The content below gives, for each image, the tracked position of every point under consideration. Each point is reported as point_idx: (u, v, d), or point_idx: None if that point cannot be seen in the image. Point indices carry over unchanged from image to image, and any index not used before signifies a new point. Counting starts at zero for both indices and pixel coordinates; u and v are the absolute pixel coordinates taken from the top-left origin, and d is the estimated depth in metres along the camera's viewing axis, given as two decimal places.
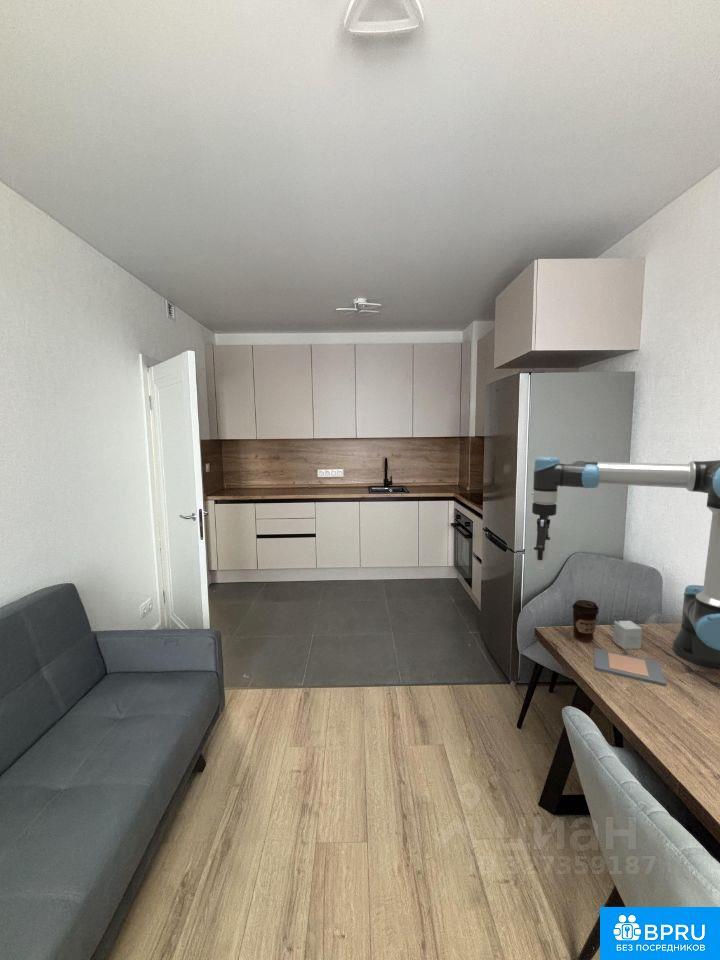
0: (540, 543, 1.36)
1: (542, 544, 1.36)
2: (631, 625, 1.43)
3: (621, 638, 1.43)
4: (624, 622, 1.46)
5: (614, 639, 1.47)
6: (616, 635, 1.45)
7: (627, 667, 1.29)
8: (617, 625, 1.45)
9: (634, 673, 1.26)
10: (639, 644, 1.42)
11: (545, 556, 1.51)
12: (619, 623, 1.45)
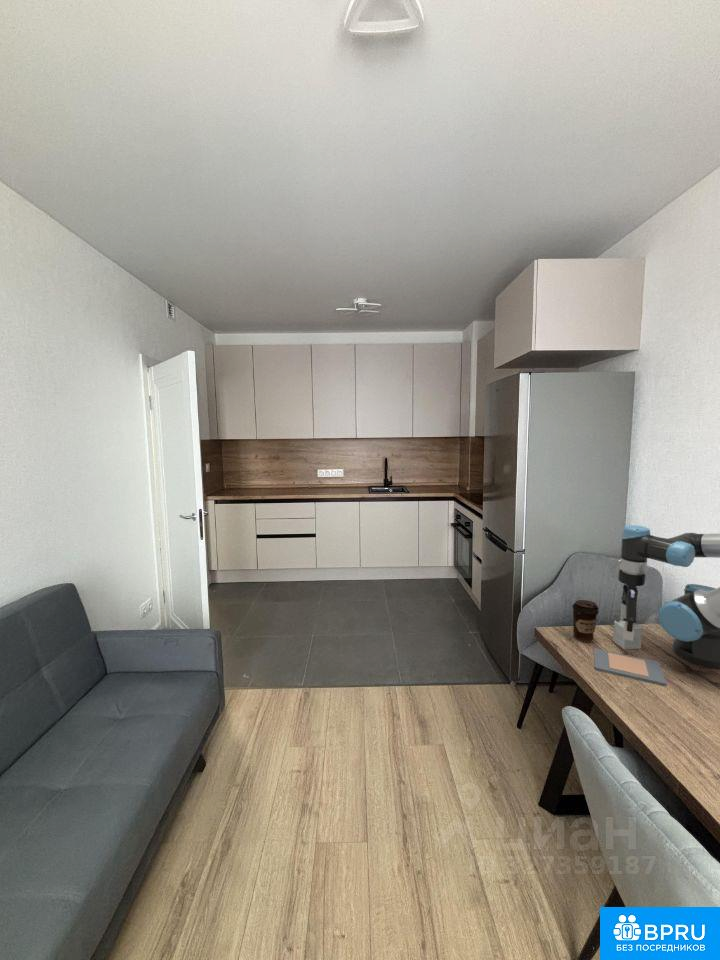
0: (631, 615, 1.35)
1: (633, 617, 1.35)
2: None
3: (621, 638, 1.43)
4: (624, 622, 1.46)
5: (614, 639, 1.47)
6: (616, 635, 1.45)
7: (627, 667, 1.29)
8: (617, 625, 1.45)
9: (634, 673, 1.26)
10: (639, 644, 1.42)
11: None
12: (619, 623, 1.45)
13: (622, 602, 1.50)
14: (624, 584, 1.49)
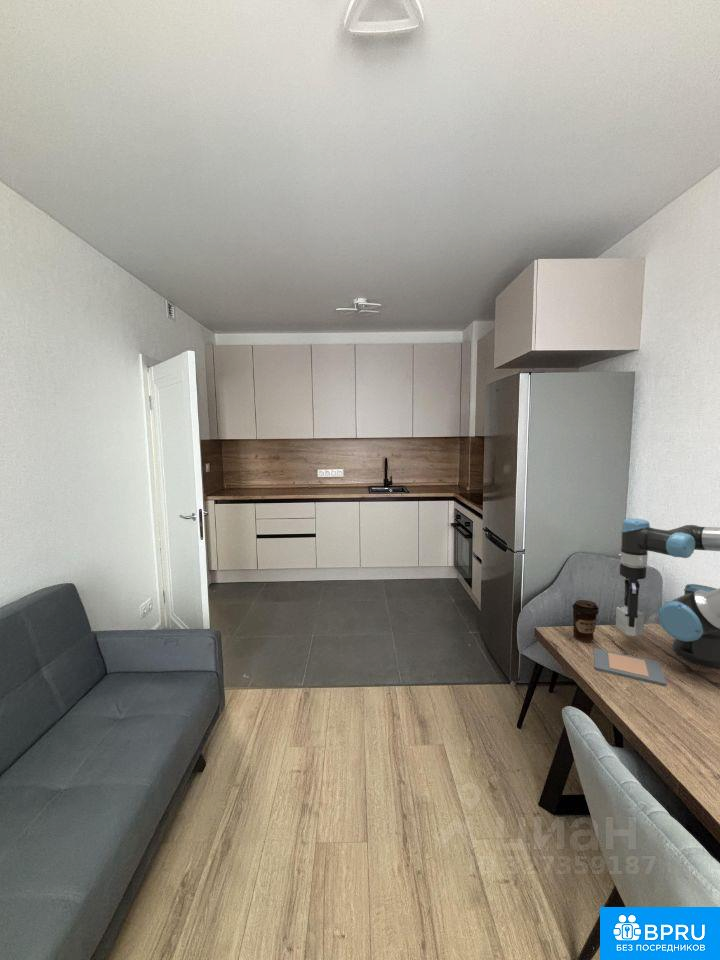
0: (633, 611, 1.36)
1: (635, 612, 1.36)
2: None
3: (623, 624, 1.42)
4: (626, 608, 1.45)
5: (617, 625, 1.46)
6: (619, 621, 1.44)
7: (627, 667, 1.29)
8: (619, 611, 1.44)
9: (634, 673, 1.26)
10: (642, 629, 1.41)
11: None
12: (621, 609, 1.44)
13: (625, 603, 1.48)
14: None
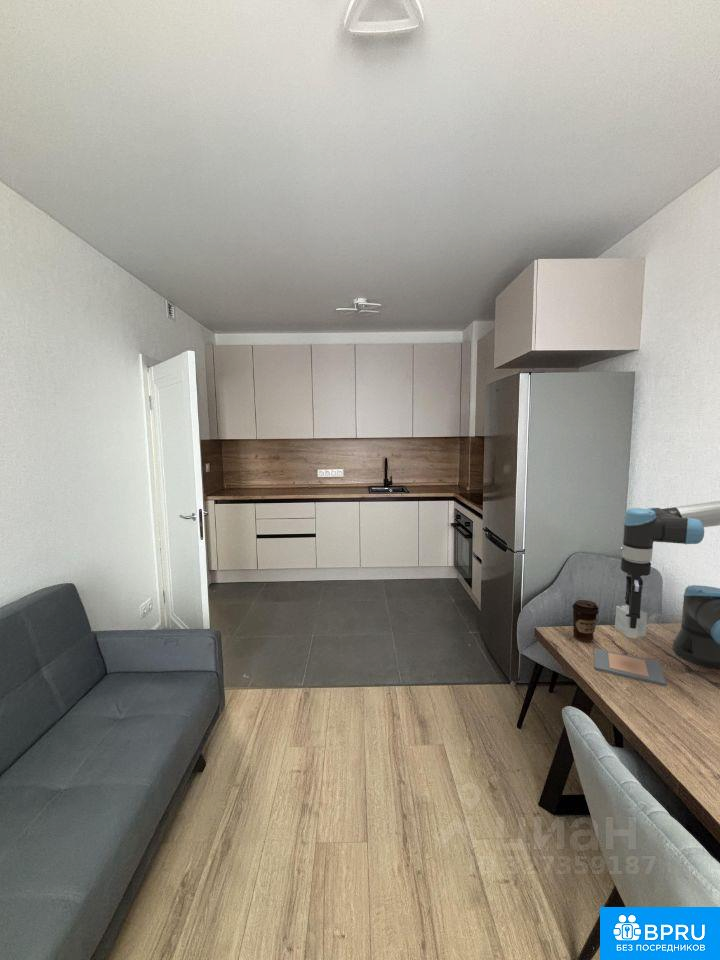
0: (635, 611, 1.22)
1: (637, 612, 1.22)
2: None
3: (624, 625, 1.28)
4: (627, 607, 1.31)
5: (616, 626, 1.32)
6: (618, 621, 1.30)
7: (627, 667, 1.29)
8: (619, 610, 1.30)
9: (634, 673, 1.26)
10: (644, 631, 1.27)
11: None
12: (621, 608, 1.30)
13: (626, 601, 1.33)
14: None
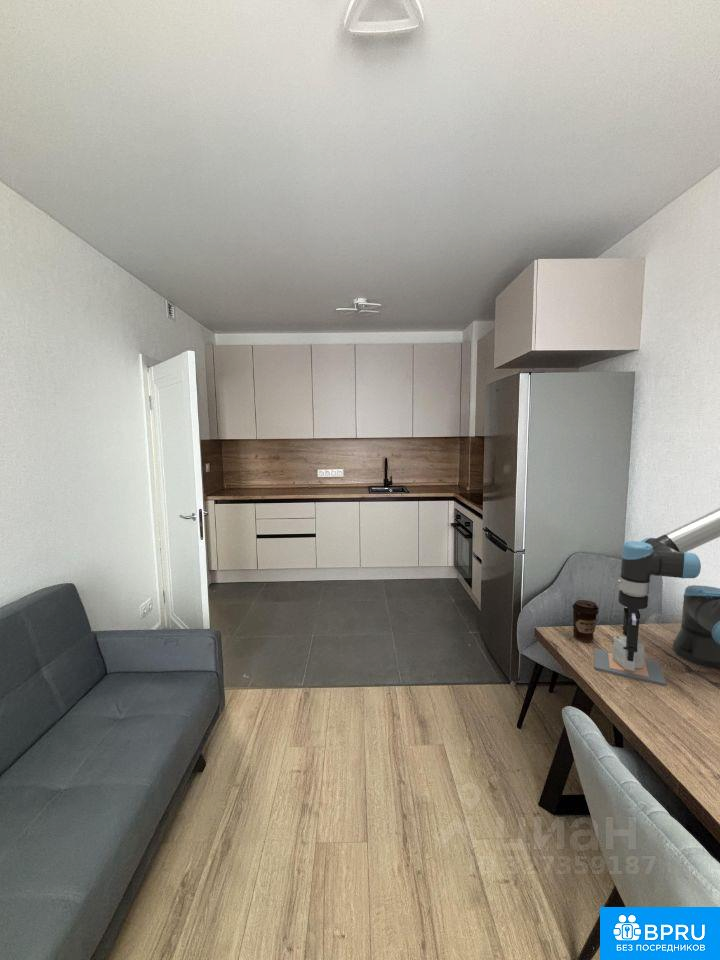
0: (632, 645, 1.23)
1: (635, 646, 1.23)
2: None
3: (621, 657, 1.29)
4: (625, 638, 1.32)
5: (614, 657, 1.33)
6: (616, 652, 1.32)
7: None
8: (617, 642, 1.31)
9: (634, 673, 1.26)
10: (641, 663, 1.28)
11: None
12: (619, 640, 1.31)
13: (623, 632, 1.35)
14: None
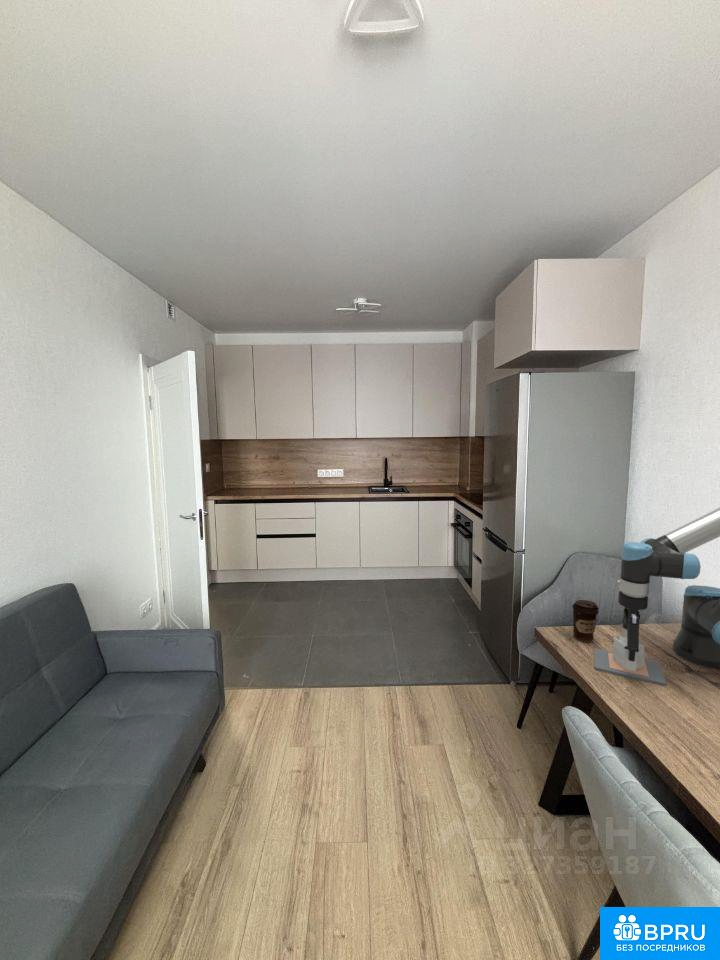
0: (633, 643, 1.22)
1: (636, 645, 1.21)
2: None
3: (621, 657, 1.29)
4: (625, 639, 1.32)
5: (614, 657, 1.33)
6: (616, 653, 1.32)
7: None
8: (617, 642, 1.31)
9: (634, 673, 1.26)
10: (641, 663, 1.28)
11: None
12: (619, 640, 1.31)
13: (623, 626, 1.37)
14: (625, 606, 1.35)
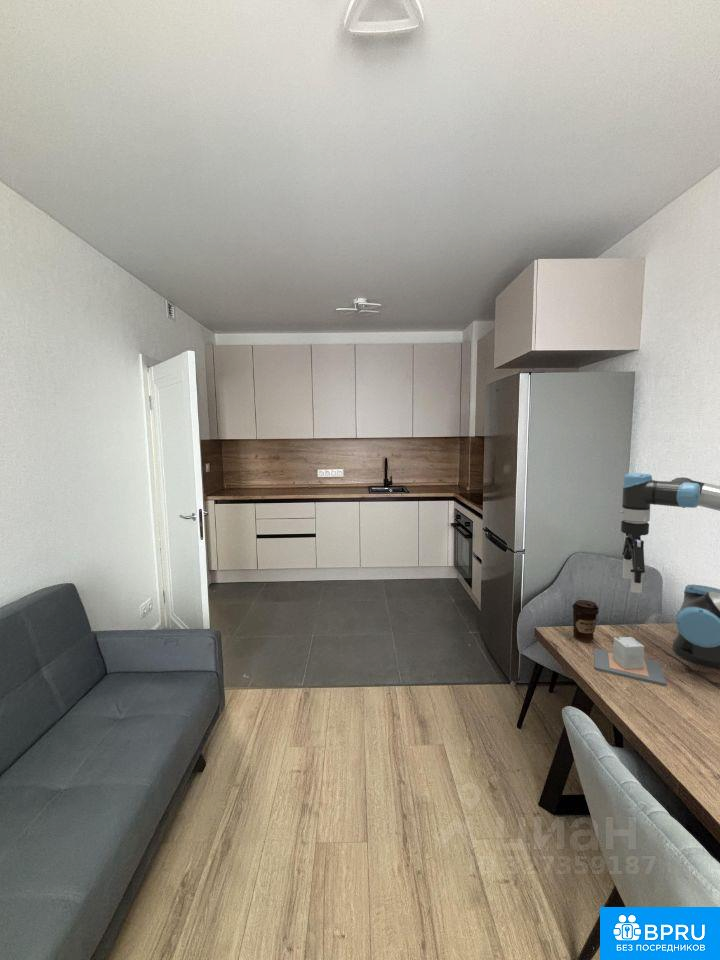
0: (639, 565, 1.28)
1: (642, 566, 1.28)
2: (632, 643, 1.29)
3: (621, 657, 1.29)
4: (625, 639, 1.32)
5: (614, 657, 1.33)
6: (616, 653, 1.32)
7: None
8: (617, 642, 1.31)
9: (634, 673, 1.26)
10: (641, 663, 1.28)
11: (630, 576, 1.44)
12: (619, 640, 1.31)
13: (624, 557, 1.44)
14: (626, 537, 1.42)
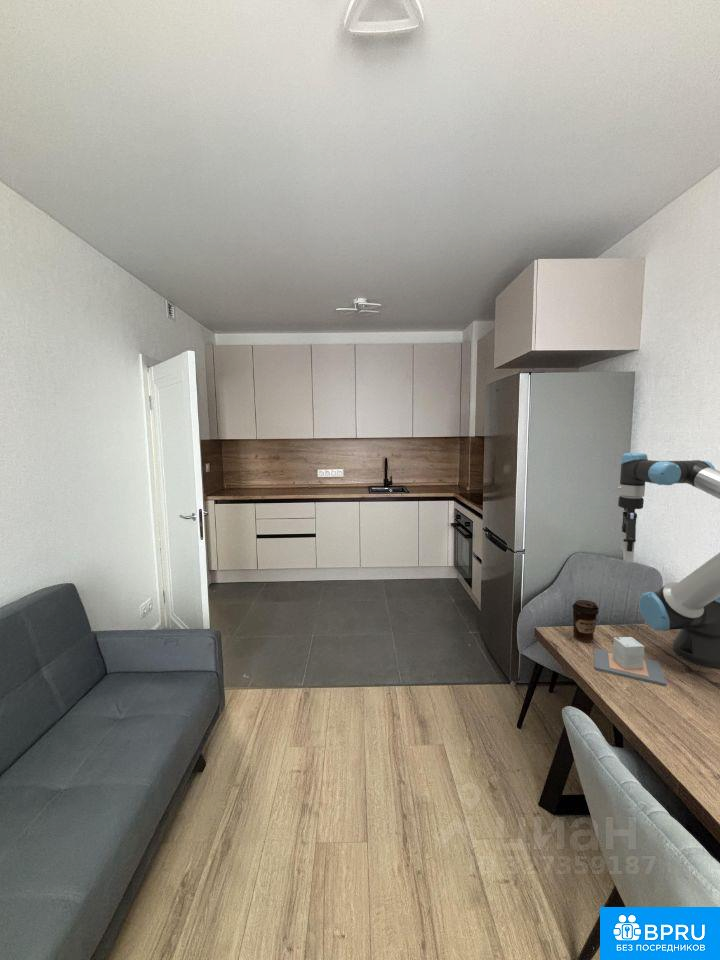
0: (631, 535, 1.42)
1: (633, 536, 1.42)
2: (632, 643, 1.29)
3: (621, 657, 1.29)
4: (625, 639, 1.32)
5: (614, 657, 1.33)
6: (616, 653, 1.32)
7: None
8: (617, 642, 1.31)
9: (634, 673, 1.26)
10: (641, 663, 1.28)
11: None
12: (619, 640, 1.31)
13: (622, 530, 1.57)
14: (624, 512, 1.56)
